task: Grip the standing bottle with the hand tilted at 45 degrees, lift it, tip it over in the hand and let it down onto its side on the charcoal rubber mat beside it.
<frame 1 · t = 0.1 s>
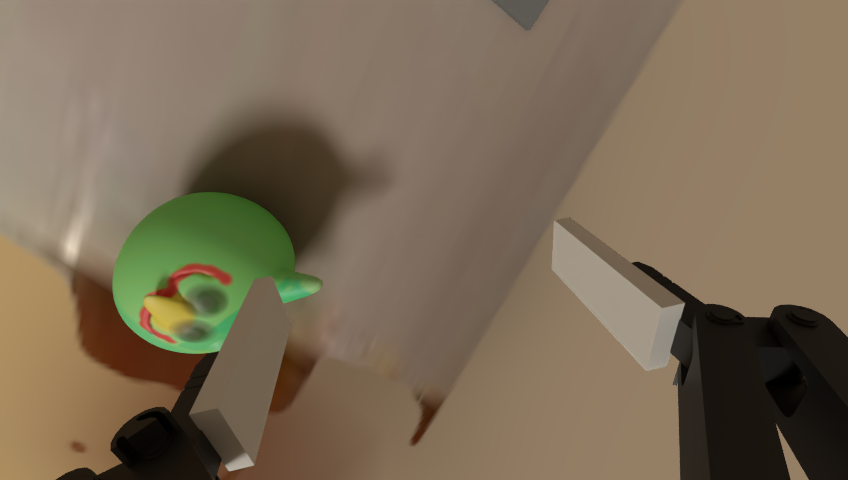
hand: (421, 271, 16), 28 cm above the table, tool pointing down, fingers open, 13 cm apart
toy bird: (237, 245, 43), on the table
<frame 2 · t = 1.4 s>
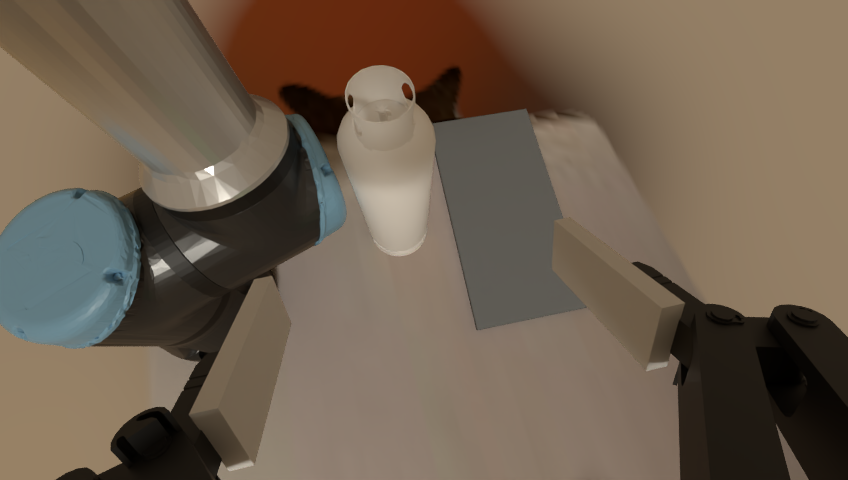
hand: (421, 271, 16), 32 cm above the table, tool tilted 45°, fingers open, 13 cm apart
bottle: (399, 229, 50), on the table
mat: (503, 210, 51), on the table
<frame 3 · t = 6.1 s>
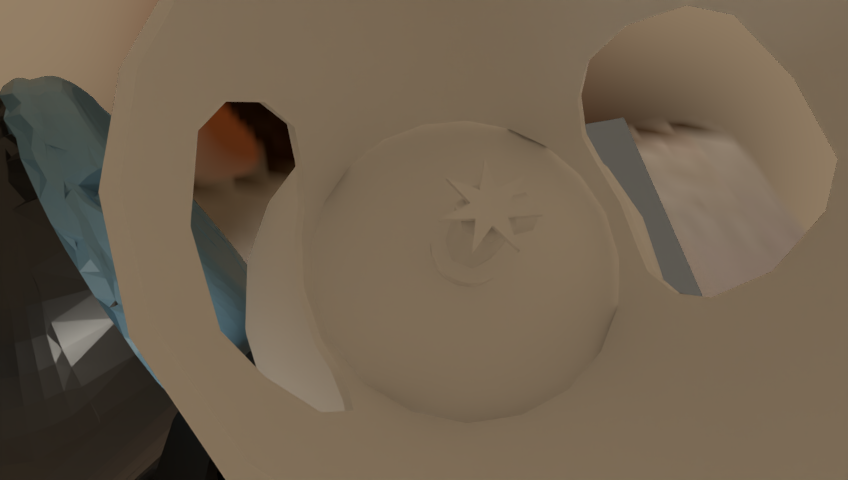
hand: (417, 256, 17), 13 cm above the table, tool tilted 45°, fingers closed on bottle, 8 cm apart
bottle: (423, 332, 29), on the table, touching gripper
mat: (600, 293, 30), on the table
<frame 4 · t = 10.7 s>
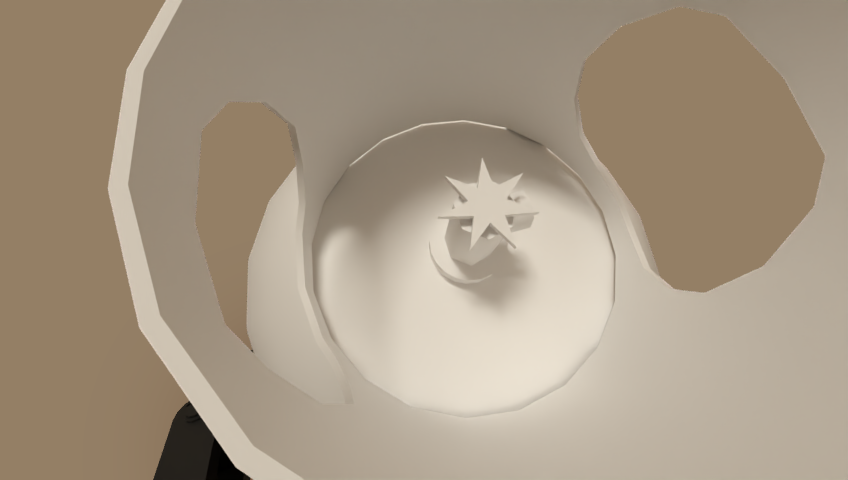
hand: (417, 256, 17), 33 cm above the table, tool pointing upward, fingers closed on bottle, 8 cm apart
bottle: (423, 331, 29), point 26 cm above the table, touching gripper
when the fingers open (25 cm above the table, at t = 13.6 s): bottle drops 14 cm, resting on mat.
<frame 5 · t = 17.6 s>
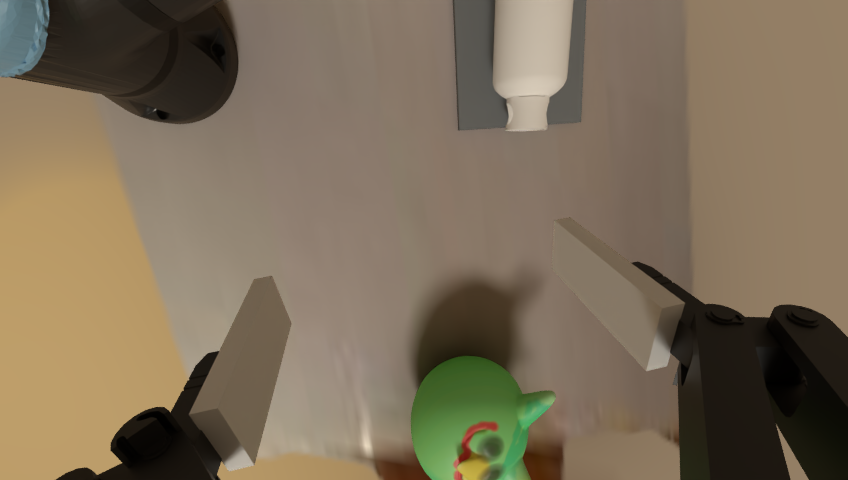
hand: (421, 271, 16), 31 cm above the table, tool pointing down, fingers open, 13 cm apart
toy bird: (461, 387, 54), on the table
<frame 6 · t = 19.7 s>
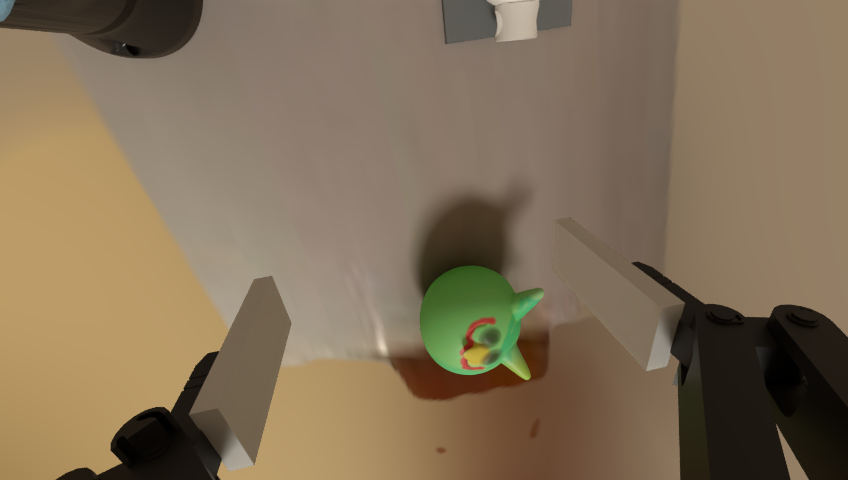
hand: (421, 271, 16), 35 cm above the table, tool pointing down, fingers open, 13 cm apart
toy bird: (461, 293, 61), on the table
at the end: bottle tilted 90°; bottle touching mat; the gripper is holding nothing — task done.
